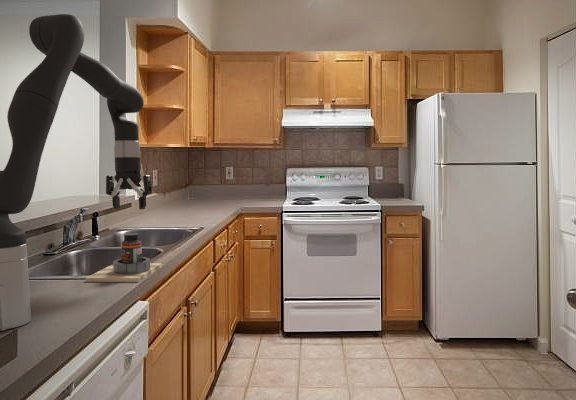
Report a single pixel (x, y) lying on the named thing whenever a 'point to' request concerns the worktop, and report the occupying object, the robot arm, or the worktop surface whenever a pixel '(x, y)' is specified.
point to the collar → (131, 266)
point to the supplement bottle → (131, 249)
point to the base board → (121, 275)
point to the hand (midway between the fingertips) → (129, 209)
